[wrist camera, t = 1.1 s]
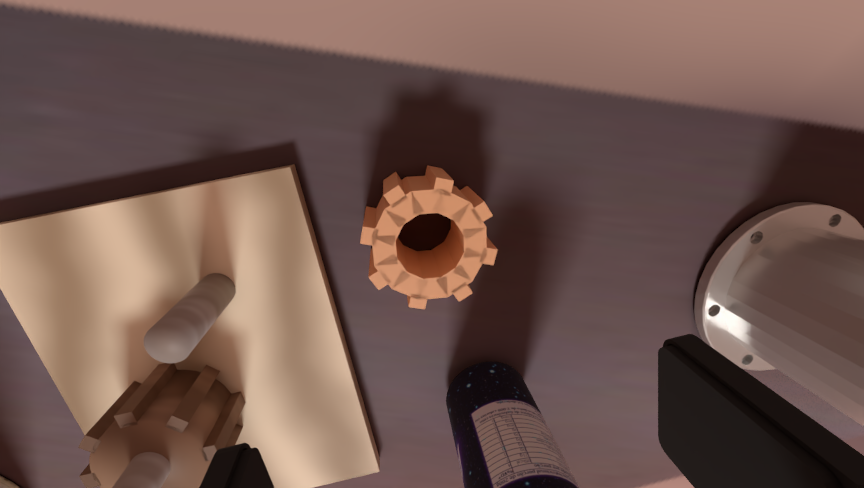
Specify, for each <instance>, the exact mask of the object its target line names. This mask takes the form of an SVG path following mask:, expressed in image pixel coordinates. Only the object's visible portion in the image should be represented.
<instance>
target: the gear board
mask: <svg viewBox="0 0 864 488" xmlns="http://www.w3.org/2000/svg"><path fill="white" fill-rule="evenodd" d="M0 289H1V290H2V292H3V294H4V296H5V297H6V299H7V301H8V303H9V304H10V306H11V308H12V310H13V311H14V313H15V315H16V316H17V318H18V320H19V322H20V323H21V325H22V327H23V329H24V330H25V332H26V334H27V336H28V337H29V339H30V341H31V343H32V344H33V346H34V348H35V349H36V351H37V353H38V355H39V356H40V358H41V360H42V362H43V363H44V365H45V367H46V369H47V370H48V372H49V374H50V376H51V377H52V379H53V381H54V382H55V384H56V386H57V388H58V389H59V391H60V393H61V395H62V396H63V398H64V400H65V402H66V403H67V405H68V407H69V409H70V410H71V412H72V414H73V416H74V417H75V419H76V421H77V422H78V424H79V426H80V428H81V429H82V431H83V433H84V435H85V436H84V438H83V440H82V441H81V443H80V445H79V447H78V448H81V449H83V450H86V451H89V452H91V454H90V460H89V465H88V466H87V467H86V468H85V470H84V471H83V472H82V473H81V475H80V476H79V477H80V478H81V480H82V482H83V483H84V485H85V487H86V488H92V487H97V486H99V487H100V488H199V487H200V485H201V483H202V481H203V478H204V476H205V474H206V472H207V470H208V467H209V465H210V463H211V461H212V458H213V456H214V454H215V453H216V451H217V450H219V449H221V448H225V447H229V446H233V445H237V444H241V443H247V444H249V446H250V447H251V448H257V449H258V450H259V452H260V454H261V456H262V459H263V461H264V464H265V466H266V468H267V471H268V473H269V476H270V478H271V480H272V483H273V485H274V488H313V487H317V486H321V485H325V484H330V483H334V482H338V481H342V480H347V479H351V478H355V477H359V476H363V475H368V474H372V473H376V472H380V458H379V454H378V451H377V447H376V444H375V441H374V437H373V434H372V430H371V427H370V423H369V420H368V416H367V413H366V409H365V406H364V403H363V399H362V396H361V392H360V389H359V385H358V382H357V378H356V375H355V371H354V368H353V365H352V361H351V358H350V354H349V351H348V347H347V344H346V340H345V337H344V333H343V330H342V327H341V323H340V320H339V316H338V313H337V309H336V306H335V302H334V299H333V296H332V292H331V289H330V285H329V282H328V278H327V275H326V271H325V268H324V264H323V261H322V258H321V254H320V251H319V247H318V244H317V240H316V237H315V233H314V230H313V226H312V223H311V220H310V216H309V213H308V209H307V206H306V202H305V199H304V195H303V192H302V188H301V185H300V182H299V178H298V175H297V171H296V168H295V164H293V165H288V166H283V167H278V168H273V169H268V170H263V171H258V172H253V173H248V174H242V175H237V176H232V177H227V178H222V179H217V180H212V181H207V182H202V183H197V184H192V185H187V186H182V187H177V188H172V189H167V190H162V191H157V192H152V193H147V194H142V195H137V196H132V197H127V198H122V199H117V200H112V201H107V202H102V203H97V204H92V205H86V206H81V207H76V208H71V209H66V210H61V211H56V212H51V213H46V214H41V215H36V216H31V217H26V218H21V219H16V220H11V221H6V222H1V223H0Z"/></svg>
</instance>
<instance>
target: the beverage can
mask: <svg viewBox="0 0 864 488" xmlns="http://www.w3.org/2000/svg"><path fill="white" fill-rule="evenodd" d="M446 403H447V409H448V413H449V418H450V422H451V427H452V432H453V436H454V441H455V446H456V450H457V455H458V459H459V464H460V469H461V473H462V478H463V483H464V487H465V488H579V486H578V484H577V482H576V480H575V478H574V477H573V475H572V473H571V471H570V469H569V467H568V465H567V463H566V461H565V459H564V457H563V455H562V453H561V451H560V449H559V448H558V446H557V444H556V442H555V440H554V438H553V436H552V434H551V432H550V430H549V428H548V426H547V424H546V422H545V421H544V419H543V417H542V415H541V413H540V411H539V409H538V407H537V405H536V403H535V401H534V399H533V397H532V395H531V394H530V392H529V390H528V388H527V386H526V384H525V382H524V380H523V378H522V376H521V375H520V374H519V373H518V372H517V371H516V370H515V369H514V368H512V367H511V366H509V365H506V364H503V363H499V362H483V363H479V364H476V365H473V366H471V367H469V368H467V369H465V370H464V371H462V372H461V373H460V374H459V375H458V376H457V377H456V378H455V379H454V380H453V382H452V383H451V385H450V387H449V389H448V392H447V398H446Z"/></svg>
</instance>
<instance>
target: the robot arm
mask: <svg viewBox="0 0 864 488" xmlns="http://www.w3.org/2000/svg"><path fill="white" fill-rule="evenodd" d="M694 314H695V321H696V326H697V329H698V331H699V334H700V337H701V338H702V340H703V341H702V340H701V339H699V338H698V337H697V336H695V335H692V334H688V335H684V336H679V337H675V338H671V339H668V340H666V341H665V342H664V344H663V347H662V348H660V349H659V352H658V437H659V441H660V444H661V446H662V448H663V450H664V452H665V453H666V454H667V455H668V457H669V458H670V459H671V460H672V461H673V463H674V464H675V465H676V466H677V467H678V469H679V470H680V471H681V472H682V473H683V475H684V476H685V477H686V478H687V479H688V480H689V482H690V483H691V484H692V485H693V486H694V487H695V488H864V456H863V455H862V454H860V453H859V452H858V451H856V450H855V449H853V448H852V447H850V446H849V445H848V444H846V443H845V442H844V441H842V440H841V439H839V438H838V437H837V436H835V435H834V434H832V433H831V432H830V431H828V430H827V429H825V428H824V427H823V426H821V425H820V424H818V423H817V422H816V421H814V420H813V419H811V418H810V417H809V416H807V415H806V414H804V413H803V412H802V411H800V410H799V409H797V408H796V407H795V406H793V405H792V404H790V403H789V402H788V401H786V400H785V399H783V398H782V397H781V396H779V395H778V394H776V393H775V392H774V391H772V390H771V389H769V388H768V387H767V386H765V385H764V384H762V383H761V382H760V381H758V380H757V379H755V378H754V377H753V376H751V375H750V374H748V373H747V372H746V371H744V370H743V369H748V370H756V371H760V370H773V369H778V370H779V371H781V372H782V373H784V374H785V375H787V376H788V377H790V378H791V379H793V380H794V381H796V382H797V383H799V384H800V385H802V386H803V387H805V388H806V389H808V390H809V391H811V392H812V393H814V394H815V395H817V396H818V397H820V398H821V399H823V400H824V401H826V402H827V403H829V404H830V405H832V406H833V407H835V408H836V409H838V410H839V411H841V412H842V413H844V414H845V415H847V416H848V417H850V418H851V419H853V420H854V421H856V422H858V423H859V424H861V425H862V426H864V228H863V227H862V225H861V224H860V223H859V222H858V221H857V220H856V218H854V217H853V216H851V215H850V214H848V213H847V212H845V211H844V210H841V209H838V208H835V207H832V206H828V205H823V204H818V203H813V202H793V203H789V204H784V205H779V206H776V207H774V208H771V209H769V210H766V211H764V212H761V213H759V214H758V215H756V216H754V217H753V218H751V219H749V220H748V221H746V222H744V223H743V224H742V225H741V226H740V227H738V228H737V229H736V230H735V231H734V232H732V233H731V234H730V235H729V236H728V237H727V238H726V239H725V240H724V242H723V243H722V244H721V245H720V246H719V247H718V248H717V249H716V251H715V252H714V254H713V255H712V257H711V258H710V260H709V262H708V263H707V265H706V267H705V269H704V271H703V273H702V276H701V278H700V280H699V284H698V287H697V291H696V295H695V306H694ZM741 368H742V369H741ZM199 488H274V485H273V483H272V480H271V478H270V476H269V473H268V471H267V468H266V466H265V464H264V461H263V459H262V456H261V454H260V452H259V450H258V449H257V448H251V447H250V446H249V444H247V443H241V444H237V445H233V446H229V447H225V448H221V449H219V450H217V451H216V453H215V454H214V456H213V458H212V461H211V463H210V465H209V467H208V470H207V472H206V474H205V476H204V478H203V481H202V483H201V485H200V487H199Z"/></svg>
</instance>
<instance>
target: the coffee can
mask: <svg viewBox="0 0 864 488" xmlns="http://www.w3.org/2000/svg"><path fill="white" fill-rule="evenodd" d="M0 488H20V487H19V486H17V485H16V484H15V483H13V482H11V481H10V480H8V479H6V478H4V477H2V476H0Z"/></svg>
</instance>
